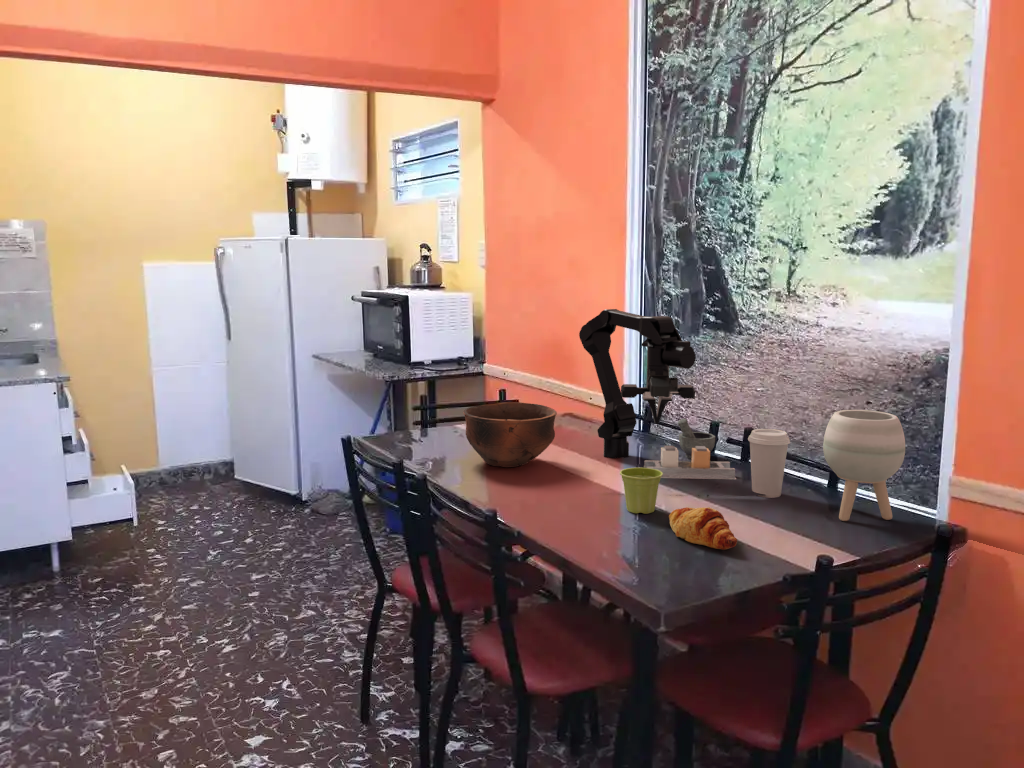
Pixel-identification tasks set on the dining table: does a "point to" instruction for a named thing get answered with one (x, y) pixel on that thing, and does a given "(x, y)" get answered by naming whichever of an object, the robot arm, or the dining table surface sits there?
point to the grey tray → (694, 470)
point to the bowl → (509, 431)
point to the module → (700, 457)
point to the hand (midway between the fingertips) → (656, 423)
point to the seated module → (669, 456)
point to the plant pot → (641, 488)
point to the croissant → (702, 527)
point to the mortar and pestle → (693, 439)
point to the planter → (864, 453)
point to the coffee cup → (768, 461)
